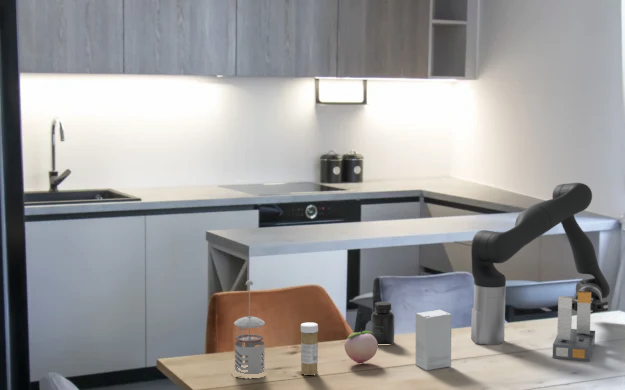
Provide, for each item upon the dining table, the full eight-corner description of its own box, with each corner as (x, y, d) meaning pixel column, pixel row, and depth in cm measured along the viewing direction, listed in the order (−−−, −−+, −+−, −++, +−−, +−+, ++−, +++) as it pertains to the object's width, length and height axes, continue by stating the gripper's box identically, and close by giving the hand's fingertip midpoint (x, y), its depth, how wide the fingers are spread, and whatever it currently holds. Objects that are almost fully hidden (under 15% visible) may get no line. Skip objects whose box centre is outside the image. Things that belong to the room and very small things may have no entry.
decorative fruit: (362, 371, 246) (362, 334, 245) (339, 365, 252) (339, 329, 251) (384, 363, 253) (384, 328, 252) (361, 358, 259) (361, 323, 258)
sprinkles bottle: (310, 370, 247) (310, 321, 245) (321, 374, 243) (321, 324, 242) (297, 373, 244) (297, 323, 242) (307, 377, 240) (308, 326, 239)
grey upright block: (570, 339, 261) (571, 298, 260) (557, 338, 263) (558, 297, 261) (570, 338, 263) (572, 296, 262) (558, 337, 264) (559, 295, 263)
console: (589, 361, 256) (590, 346, 255) (552, 358, 259) (552, 343, 259) (594, 344, 275) (595, 329, 274) (560, 340, 278) (560, 326, 278)
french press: (239, 381, 237) (239, 285, 234) (222, 369, 247) (222, 277, 245) (274, 376, 241) (274, 281, 239) (256, 365, 252) (256, 274, 249)
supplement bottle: (382, 338, 280) (382, 299, 279) (398, 343, 275) (399, 303, 274) (366, 342, 275) (366, 303, 274) (383, 347, 270) (383, 307, 269)
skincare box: (439, 361, 255) (440, 308, 254) (452, 367, 250) (453, 313, 249) (413, 365, 252) (414, 311, 250) (425, 371, 246) (426, 316, 245)
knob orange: (589, 334, 268) (590, 293, 267) (576, 332, 269) (577, 292, 268) (589, 332, 270) (591, 291, 269) (577, 331, 271) (578, 291, 270)
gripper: (567, 285, 290) (561, 296, 274) (611, 288, 285) (608, 299, 269) (566, 309, 291) (560, 321, 274) (610, 312, 286) (607, 325, 270)
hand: (584, 310), depth 272 cm, fingers closed
